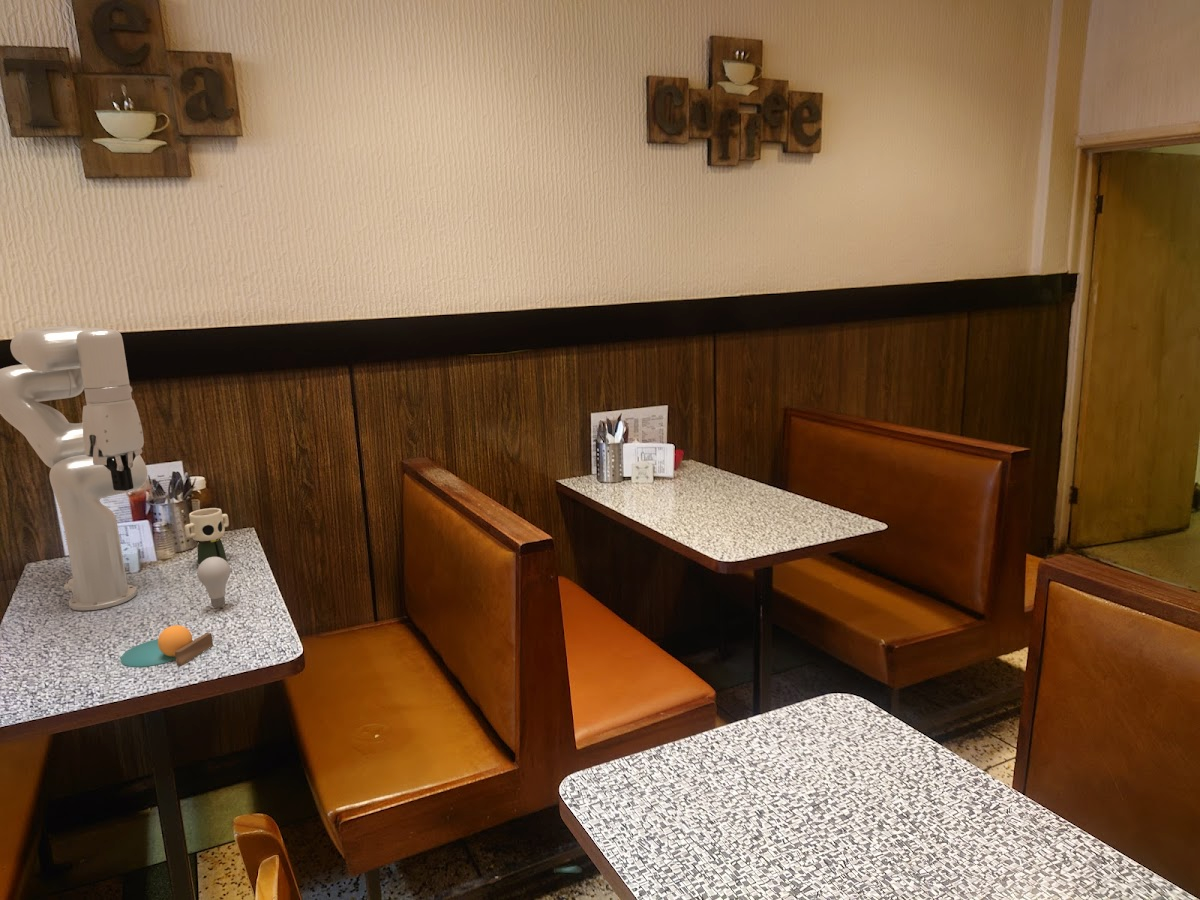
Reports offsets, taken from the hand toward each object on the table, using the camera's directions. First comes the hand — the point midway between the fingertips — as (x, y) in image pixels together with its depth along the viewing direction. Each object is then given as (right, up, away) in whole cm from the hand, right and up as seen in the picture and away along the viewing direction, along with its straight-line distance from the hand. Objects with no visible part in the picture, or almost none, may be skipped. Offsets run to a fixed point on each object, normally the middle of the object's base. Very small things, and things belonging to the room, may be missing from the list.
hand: (123, 489), depth 160 cm
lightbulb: (+14, -25, +10) cm, 31 cm away
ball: (+16, -27, -11) cm, 33 cm away
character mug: (-1, -20, +38) cm, 43 cm away
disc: (+12, -29, -9) cm, 33 cm away
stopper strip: (+19, -29, -11) cm, 37 cm away
